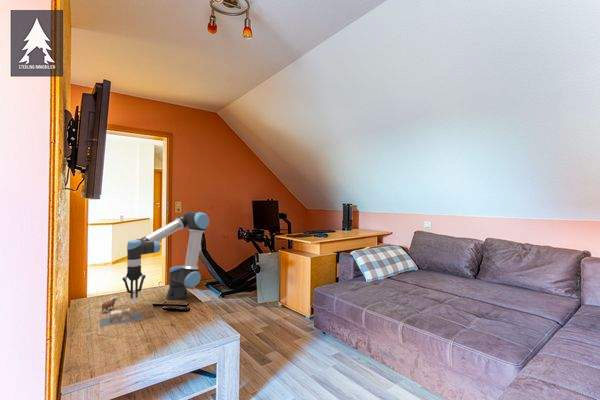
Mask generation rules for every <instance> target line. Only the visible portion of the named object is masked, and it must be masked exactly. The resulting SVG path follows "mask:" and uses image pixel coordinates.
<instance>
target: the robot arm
mask: <svg viewBox="0 0 600 400" xmlns="http://www.w3.org/2000/svg"><path fill="white" fill-rule="evenodd" d="M209 225H210V217H209V216H208V214H206V213H204V212H201V211H199V212H198V211H188V212H186V213H185V212H184V213H183V214H181V215H179V216H177V217H176V218H174V220H173V221H171V222H169V223H167V224H165V225H164V226H162V227H159V228H158V229H156V230H154V231H153V232H151V233H149V234H147V235H145V236H144V237H141V238H136V239H131V240H129V241H128V242H127V245H126V250H127V254H126V255H127V260H126V263H127V266H126V267H127V268H126V269H127V270H126V275H125V276H124V277H122V281H123V282H124V285H125V288H126V293H128V294H130V299H132V305H135V304H136V301H137V298H138V297H139V296H138V294H139V292H142V288H143V284H144V282H145V281H144V280H145V279H146V274H143V273H142V256H143V255H150V254H156V253H159V252H160V251H161V243H160V241H162V240H163V239H165V238H168V237H169V236H170V235H172V234H173V233H176V232H177V231H179V230H184V229H185V228H187V229H188V231H189V237H188V241H187V242H188V243H187V247H186V248H187V250H186V255H185V262H184V265H176V266H172V267H170V268H169V271H168V272H169V275H168V276H169V278H168V279H169V280H168V284H169V285H168V286H169V287H168V290H167V293H166V300H169V301H178V300H179V301H180V300H184V299H186V298H188V297H189V291H188V288H194V287H196V286H197V285H198V284H200V282H201V280H202V279H201V278H202V277H201V276H202V275H201V273H200V272H199V269H200V268H199V266H198V262H199V255H200V250H201V244H202V238H203V237H202V236H203V233H204V232H205V231H206V229H207V228H208V227H209ZM140 278H141V279H140ZM139 279H140V282H139ZM127 280H129V281H130V288H129V285H128V284H129V283H128V281H127ZM134 283H135V287H134ZM139 283H140V284H139ZM134 288H135V289H134Z"/></svg>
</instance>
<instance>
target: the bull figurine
mask: <svg viewBox="0 0 600 400" xmlns="http://www.w3.org/2000/svg"><path fill="white" fill-rule="evenodd" d="M119 300H120V299H119V297H118V296H116V295H115V296H112V297H111V298H110V299H108V300H107V301H105V302H103V303H102V304H101V314H104V311H105V312H106V313H110V311H115V310H114V306H115V303H116V301H119ZM109 310H110V311H109Z"/></svg>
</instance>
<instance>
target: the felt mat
mask: <svg viewBox="0 0 600 400" xmlns="http://www.w3.org/2000/svg"><path fill="white" fill-rule="evenodd" d="M143 317H144V316H143V315H142V312H141V311H139V312H134V313H130V319H128V320H122V321H117V322H110V316H109V317H105V318H100V319H99V328H103V327H108V326H114V325H119V324H124V323H125V324H126V323H130V322H131V323H132V322H137V321H141V320H144V318H143Z"/></svg>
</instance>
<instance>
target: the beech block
mask: <svg viewBox="0 0 600 400" xmlns="http://www.w3.org/2000/svg"><path fill="white" fill-rule="evenodd" d="M130 314H131V308H123V309H117V310H110V311H109V317H110V322H117V321H122V320H128V319H130Z"/></svg>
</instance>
